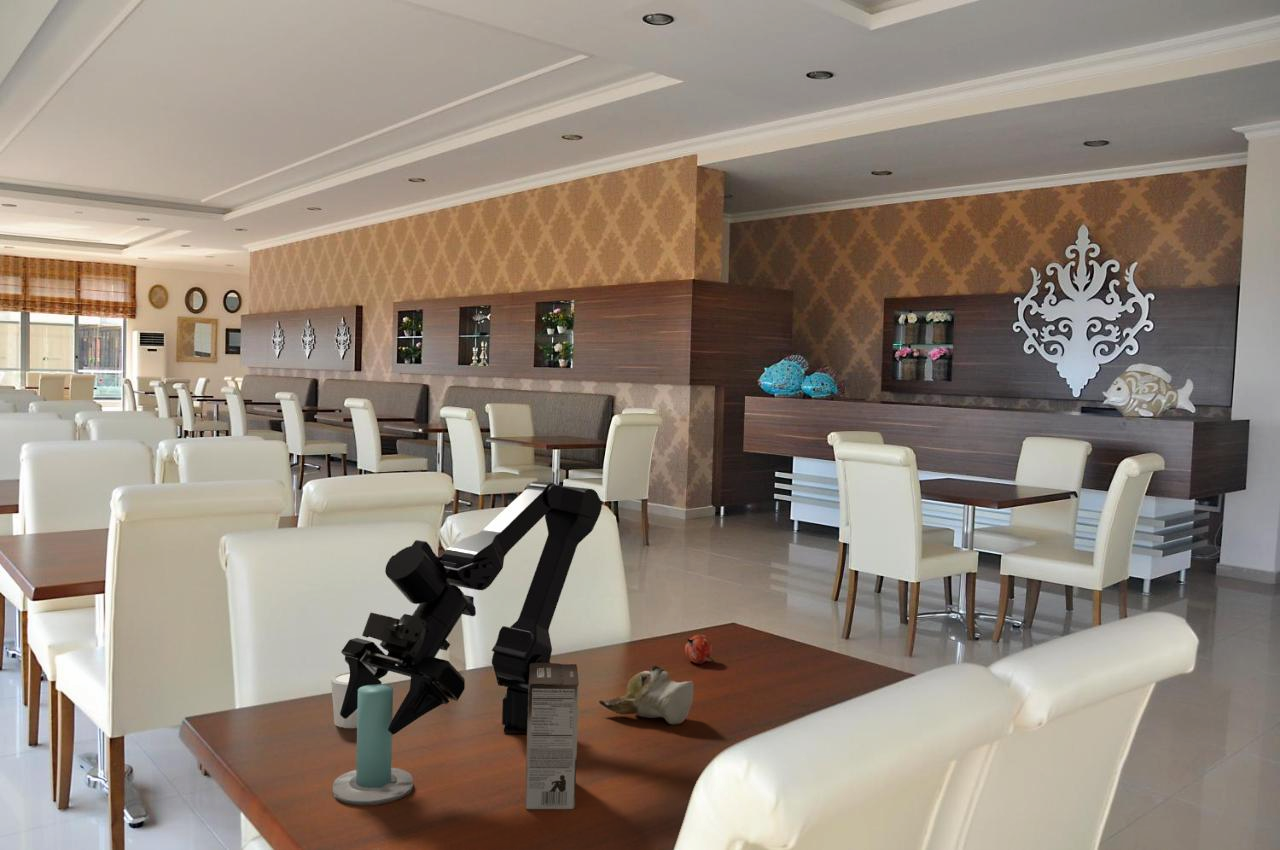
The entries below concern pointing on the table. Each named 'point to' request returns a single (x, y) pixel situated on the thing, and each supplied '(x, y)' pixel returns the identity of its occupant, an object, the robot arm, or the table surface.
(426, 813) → the table surface
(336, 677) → the white candle cup
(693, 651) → the pomegranate
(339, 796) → the hub disc
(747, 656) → the table surface
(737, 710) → the table surface
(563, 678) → the coffee box
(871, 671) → the table surface
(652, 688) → the ceramic sculpture
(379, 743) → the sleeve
